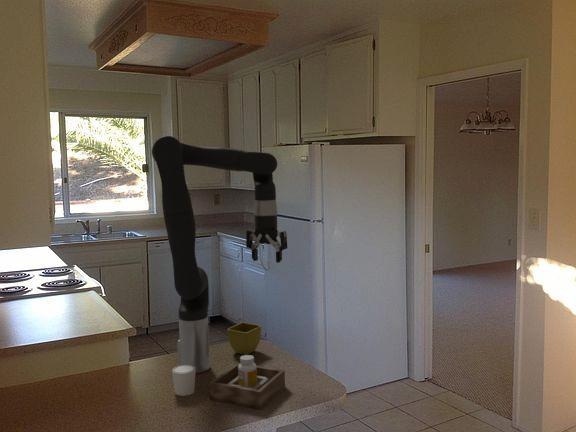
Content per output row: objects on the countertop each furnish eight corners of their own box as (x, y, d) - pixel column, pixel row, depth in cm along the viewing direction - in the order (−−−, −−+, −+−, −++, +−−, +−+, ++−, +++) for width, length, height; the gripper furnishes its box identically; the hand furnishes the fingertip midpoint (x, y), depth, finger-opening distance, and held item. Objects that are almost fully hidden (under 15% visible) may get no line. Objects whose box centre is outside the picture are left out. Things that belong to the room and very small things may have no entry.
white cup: (201, 388, 163) (200, 366, 162) (187, 398, 156) (186, 374, 156) (182, 385, 165) (181, 362, 165) (168, 394, 159) (167, 371, 158)
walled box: (210, 399, 155) (209, 383, 154) (238, 378, 169) (237, 362, 169) (260, 409, 148) (260, 392, 148) (285, 386, 163) (284, 370, 162)
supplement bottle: (258, 385, 161) (257, 354, 160) (255, 393, 156) (254, 360, 155) (240, 385, 162) (239, 353, 161) (237, 393, 157) (235, 360, 155)
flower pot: (247, 358, 186) (246, 332, 185) (227, 353, 191) (226, 328, 190) (262, 350, 193) (261, 325, 192) (242, 346, 198) (242, 322, 197)
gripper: (241, 214, 181) (242, 262, 183) (280, 215, 175) (281, 265, 177) (252, 211, 188) (253, 258, 190) (289, 212, 182) (290, 260, 184)
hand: (267, 261), depth 183 cm, fingers open, 8 cm apart
